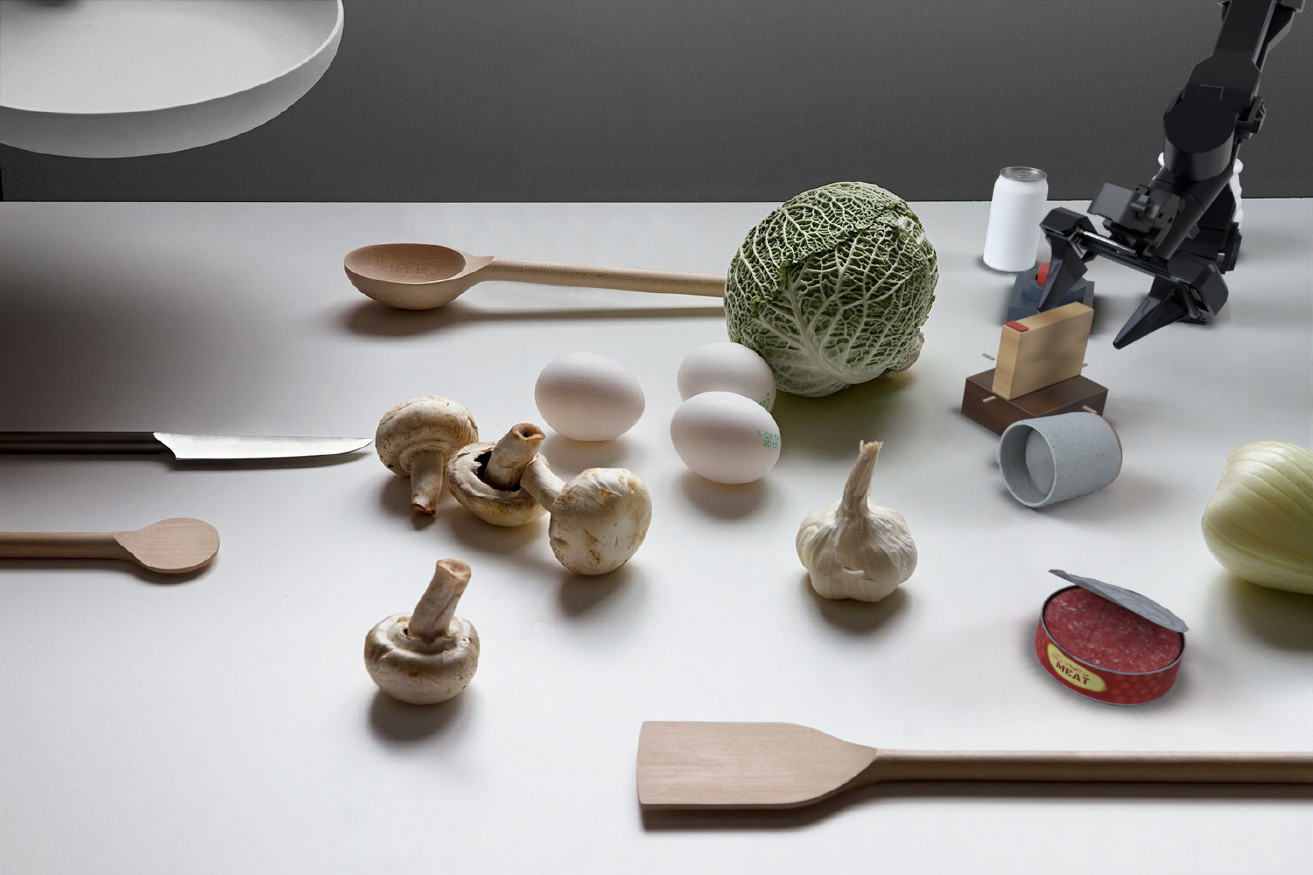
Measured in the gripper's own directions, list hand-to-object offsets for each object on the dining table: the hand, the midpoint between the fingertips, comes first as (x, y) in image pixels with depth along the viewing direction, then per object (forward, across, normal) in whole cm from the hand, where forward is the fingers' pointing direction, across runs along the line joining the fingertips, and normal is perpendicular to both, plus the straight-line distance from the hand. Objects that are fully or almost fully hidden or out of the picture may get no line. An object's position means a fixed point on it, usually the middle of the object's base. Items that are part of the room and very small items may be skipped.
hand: (1076, 329), depth 109 cm
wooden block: (+9, 0, +3) cm, 10 cm away
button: (-9, -17, +16) cm, 24 cm away
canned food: (+25, +27, -12) cm, 39 cm away
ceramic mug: (+15, +9, -2) cm, 18 cm away
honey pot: (-28, -21, +40) cm, 53 cm away
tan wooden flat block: (+6, 0, 0) cm, 6 cm away
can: (-11, -29, +23) cm, 39 cm away
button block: (-6, -17, +18) cm, 25 cm away
